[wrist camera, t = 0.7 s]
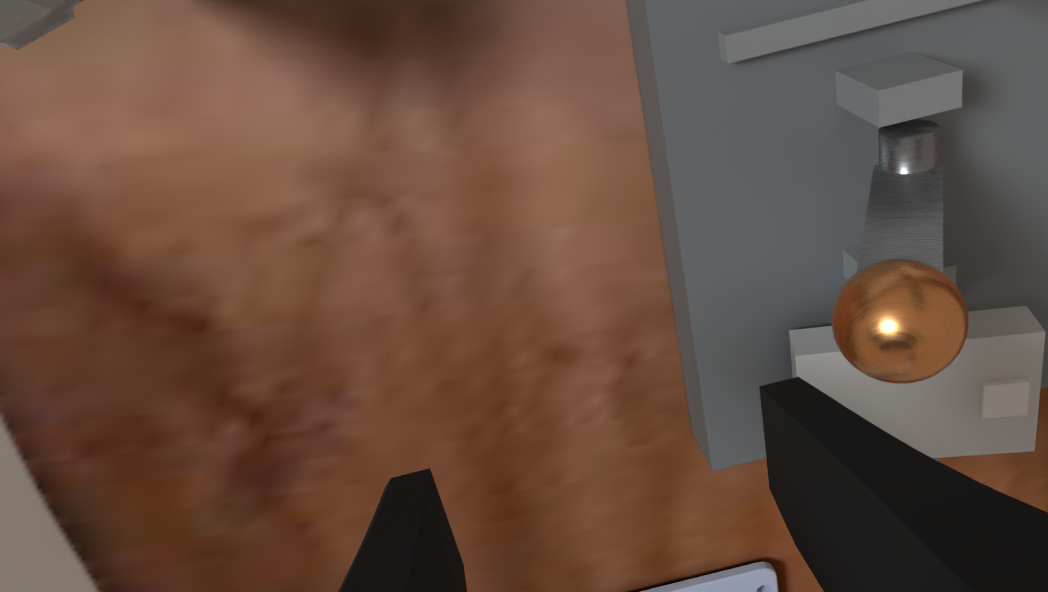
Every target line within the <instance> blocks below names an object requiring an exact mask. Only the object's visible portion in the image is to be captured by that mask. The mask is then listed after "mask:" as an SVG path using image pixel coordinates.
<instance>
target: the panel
mask: <svg viewBox="0 0 1048 592" xmlns="http://www.w3.org/2000/svg"><path fill="white" fill-rule="evenodd" d="M626 4H627V10H628V17H629V23H630V30H631V36H632V43H633V49H634V56H635V62H636V69H637V75H638V82H639V88H640V95H641V102H642V108H643V115H644V121H645V128H646V134H647V141H648V147H649V154H650V160H651V167H652V173H653V180H654V186H655V193H656V199H657V206H658V212H659V219H660V225H661V232H662V238H663V245H664V251H665V258H666V264H667V271H668V277H669V284H670V290H671V297H672V304H673V310H674V317H675V323H676V330H677V336H678V343H679V349H680V356H681V362H682V369H683V375H684V382H685V388H686V395H687V401H688V408H689V414H690V421H691V427H692V431H693V433H694V435H695V437H696V439H697V441H698V444H699V446H700V448H701V450H702V452H703V454H704V456H705V458H706V460H707V462H708V464H709V466H710V468H711V470H712V471H716V470H720V469H724V468H728V467H732V466H736V465H740V464H744V463H748V462H752V461H756V460H760V459H764V458H766V448H765V438H764V428H763V419H762V409H761V399H760V389H759V386H763V385H767V384H771V383H775V382H779V381H783V380H787V379H791V378H793V376H792V363H791V350H790V338H789V330H796V329H806V328H816V327H825V326H832V324H831V322H832V310H833V305H834V302H835V300H836V297H837V295H838V293H839V291H840V290H841V288H842V287H843V285H844V284H845V283H846V281H847V280H848V279H849V278H851V277H852V276H853V275H854V274H855V273H856V272H857V266H858V260H859V254H860V247H861V241H862V235H863V229H864V223H865V217H866V211H867V205H868V199H869V192H870V186H871V180H872V174H873V168H874V165H879V148H878V130H879V129H880V128H881V127H884V126H888V125H892V124H896V123H900V122H904V121H908V120H912V119H921V120H928V121H932V122H935V123H936V124H938V126H939V135H938V162H942V161H943V273H944V274H945V275H946V276H947V277H948V278H949V279H950V280H951V281H952V282H953V283H954V284H955V285H956V286H957V288H958V289H959V291H960V293H961V294H962V296H963V298H964V301H965V303H966V307H967V311H968V312H970V311H979V310H989V309H999V308H1008V307H1018V306H1027V307H1028V309H1029V310H1030V311H1031V313H1032V314H1033V315H1034V317H1035V318H1036V319H1037V321H1038V322H1039V324H1040V325H1041V326H1042V328H1043V329H1044V330H1045V332H1046V333H1045V344H1044V355H1043V366H1042V376H1041V387H1040V390H1041V389H1045V388H1048V0H626ZM933 459H934V460H936V461H938V458H933Z"/></svg>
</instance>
